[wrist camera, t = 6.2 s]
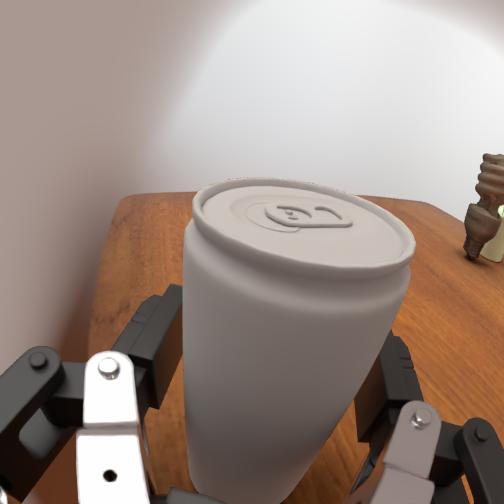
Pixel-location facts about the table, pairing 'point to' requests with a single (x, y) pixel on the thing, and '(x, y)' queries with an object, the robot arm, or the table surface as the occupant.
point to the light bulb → (485, 206)
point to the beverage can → (280, 326)
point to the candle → (495, 242)
